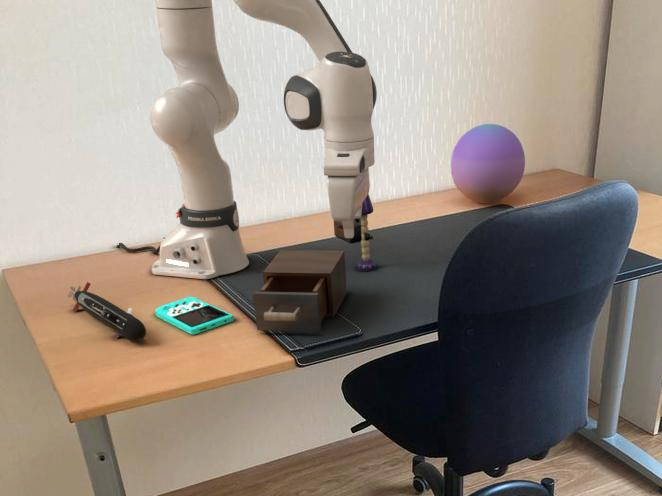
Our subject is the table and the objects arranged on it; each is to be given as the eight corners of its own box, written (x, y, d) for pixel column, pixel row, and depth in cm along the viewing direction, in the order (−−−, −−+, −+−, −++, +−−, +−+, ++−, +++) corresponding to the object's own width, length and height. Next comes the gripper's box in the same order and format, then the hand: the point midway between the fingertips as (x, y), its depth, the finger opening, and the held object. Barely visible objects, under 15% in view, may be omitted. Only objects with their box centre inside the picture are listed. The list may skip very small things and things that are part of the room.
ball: (514, 190, 239) (518, 115, 228) (530, 209, 223) (535, 129, 212) (445, 194, 239) (445, 120, 228) (456, 214, 222) (457, 134, 211)
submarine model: (81, 313, 180) (40, 293, 173) (95, 286, 180) (54, 264, 172) (148, 357, 159) (104, 336, 152) (164, 326, 159) (121, 303, 151)
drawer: (314, 342, 154) (311, 304, 150) (249, 340, 156) (245, 303, 152) (333, 307, 168) (331, 271, 164) (274, 305, 170) (270, 270, 166)
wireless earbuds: (352, 246, 155) (352, 228, 153) (333, 236, 160) (332, 219, 158) (373, 241, 157) (373, 223, 155) (353, 232, 162) (353, 215, 160)
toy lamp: (373, 272, 187) (370, 196, 177) (353, 271, 188) (349, 195, 178) (377, 265, 191) (374, 190, 181) (357, 264, 191) (353, 190, 182)
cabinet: (333, 317, 165) (330, 273, 160) (267, 316, 168) (262, 272, 163) (347, 293, 176) (344, 250, 171) (284, 291, 179) (280, 250, 174)
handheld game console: (193, 300, 177) (192, 294, 176) (236, 320, 166) (235, 314, 166) (151, 314, 171) (150, 307, 171) (192, 335, 161) (191, 328, 160)
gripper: (343, 141, 158) (346, 215, 166) (320, 167, 142) (325, 248, 149) (376, 141, 157) (378, 215, 165) (357, 168, 141) (360, 249, 148)
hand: (352, 231), depth 157 cm, fingers closed on wireless earbuds, 5 cm apart
